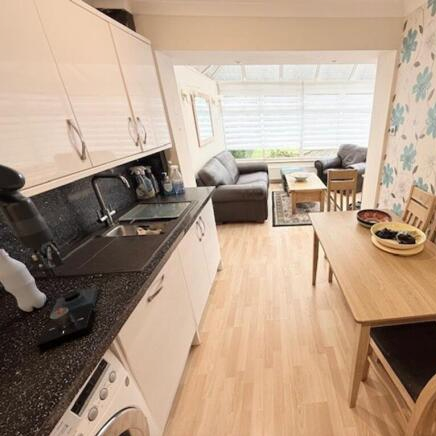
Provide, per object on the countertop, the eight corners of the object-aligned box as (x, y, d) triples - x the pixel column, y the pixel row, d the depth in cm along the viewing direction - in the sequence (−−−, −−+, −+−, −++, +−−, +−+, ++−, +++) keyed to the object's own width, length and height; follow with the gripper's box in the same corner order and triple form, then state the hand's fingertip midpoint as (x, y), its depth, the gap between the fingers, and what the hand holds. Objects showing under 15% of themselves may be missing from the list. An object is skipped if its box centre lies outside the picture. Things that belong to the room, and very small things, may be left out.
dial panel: (41, 351, 72) (36, 344, 71) (52, 327, 80) (47, 321, 79) (90, 333, 77) (85, 326, 76) (95, 312, 85) (91, 306, 84)
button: (64, 303, 86) (62, 299, 85) (67, 296, 89) (65, 292, 88) (78, 298, 87) (76, 295, 87) (80, 292, 91) (78, 288, 90)
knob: (73, 325, 77) (66, 313, 75) (56, 332, 75) (47, 320, 73) (76, 316, 80) (68, 304, 78) (59, 322, 78) (51, 311, 76)
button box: (52, 321, 83) (46, 312, 81) (60, 302, 91) (55, 294, 89) (94, 306, 88) (89, 298, 86) (98, 290, 96) (94, 283, 94)
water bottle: (39, 298, 94) (2, 244, 83) (53, 300, 93) (17, 245, 82) (17, 312, 88) (-26, 256, 77) (32, 314, 86) (-10, 258, 76)
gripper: (38, 235, 71) (64, 278, 79) (53, 218, 83) (75, 257, 90) (4, 242, 68) (34, 287, 75) (25, 224, 80) (49, 264, 87)
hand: (56, 270), depth 83 cm, fingers open, 7 cm apart
